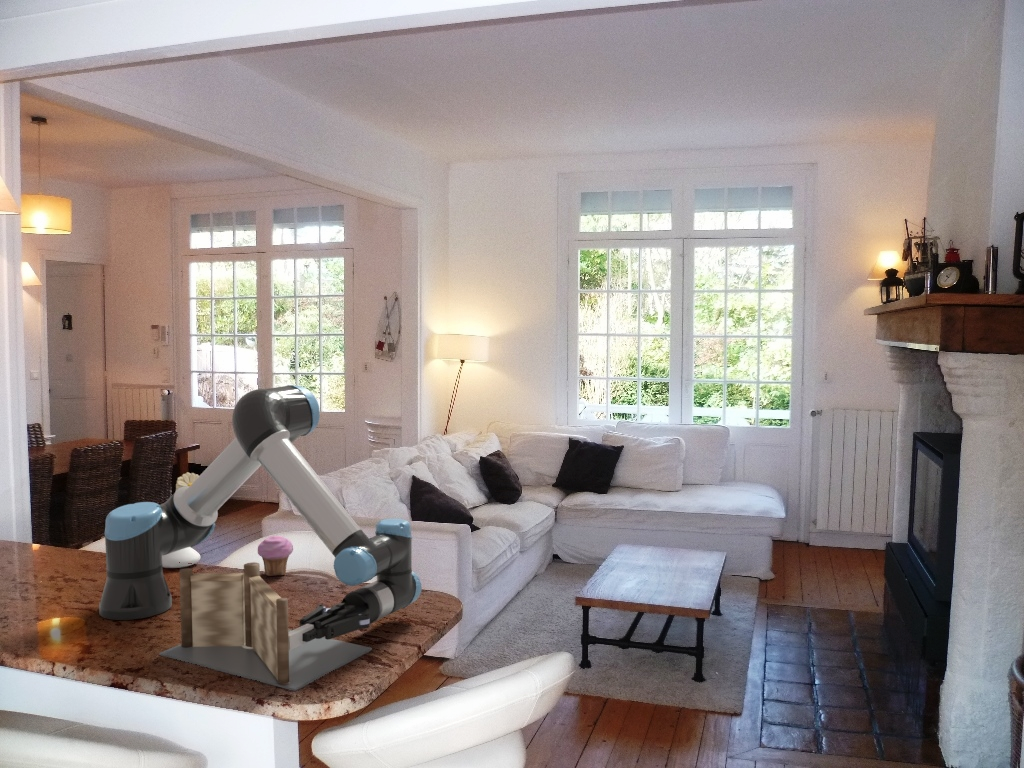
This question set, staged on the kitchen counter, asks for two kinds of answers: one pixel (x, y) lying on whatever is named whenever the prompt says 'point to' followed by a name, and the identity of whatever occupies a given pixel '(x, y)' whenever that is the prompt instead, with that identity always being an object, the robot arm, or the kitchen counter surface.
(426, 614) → the kitchen counter surface
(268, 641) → the fence panel
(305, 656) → the card
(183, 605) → the wooden fence section
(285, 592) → the kitchen counter surface
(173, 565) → the flower in vase
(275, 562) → the cupcake
